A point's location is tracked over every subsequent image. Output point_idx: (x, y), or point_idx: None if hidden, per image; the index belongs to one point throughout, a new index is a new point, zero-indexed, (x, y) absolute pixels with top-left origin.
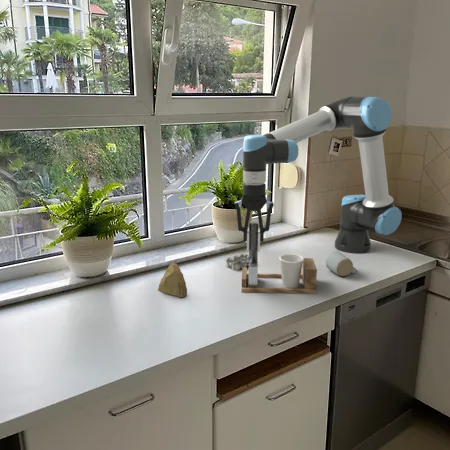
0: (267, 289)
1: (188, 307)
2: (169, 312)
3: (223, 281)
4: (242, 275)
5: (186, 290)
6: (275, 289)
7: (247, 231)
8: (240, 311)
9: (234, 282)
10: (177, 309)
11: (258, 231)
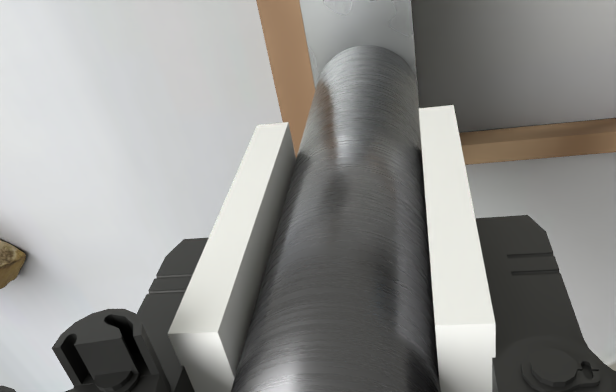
0: (501, 159)
1: None
2: (54, 385)
3: (129, 3)
4: (285, 110)
5: (5, 267)
6: (565, 155)
7: (188, 362)
8: None
9: (220, 7)
10: None
11: (451, 345)
